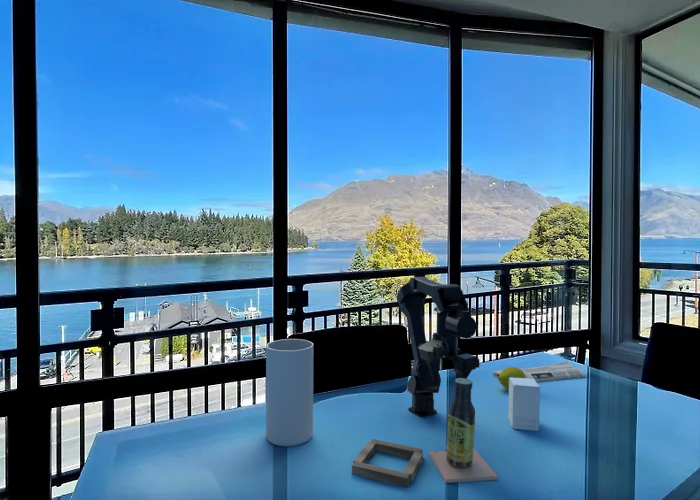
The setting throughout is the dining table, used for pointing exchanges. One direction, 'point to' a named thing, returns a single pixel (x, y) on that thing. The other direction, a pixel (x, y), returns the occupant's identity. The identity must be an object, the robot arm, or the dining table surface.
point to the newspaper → (550, 372)
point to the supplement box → (524, 404)
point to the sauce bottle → (461, 426)
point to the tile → (463, 469)
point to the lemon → (510, 375)
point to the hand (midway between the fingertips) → (446, 386)
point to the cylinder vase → (289, 392)
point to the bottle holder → (386, 474)
